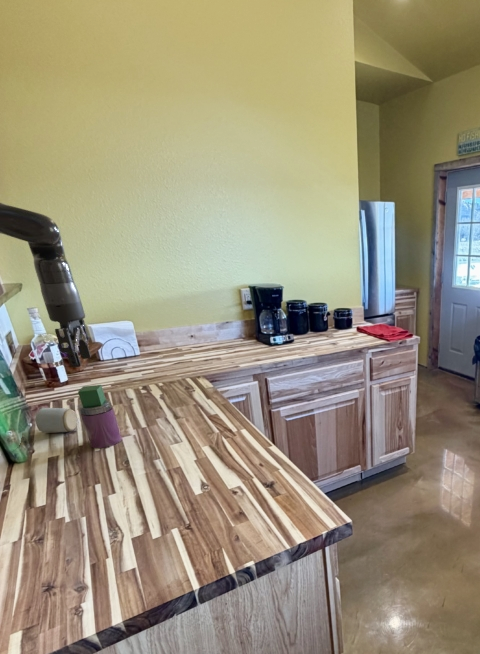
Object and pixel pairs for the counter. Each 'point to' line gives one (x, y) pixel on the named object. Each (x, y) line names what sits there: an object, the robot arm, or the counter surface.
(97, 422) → the jar
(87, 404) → the block
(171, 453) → the counter surface
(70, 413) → the grey canister
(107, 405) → the jar lid
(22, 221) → the robot arm
